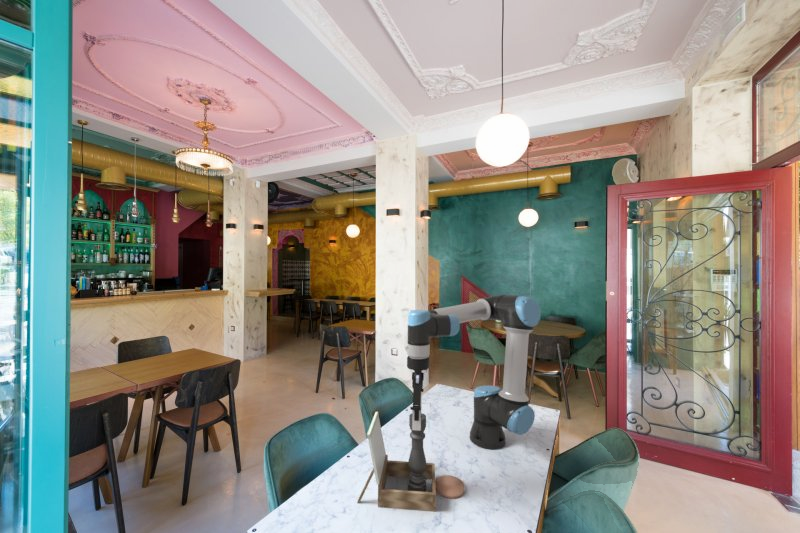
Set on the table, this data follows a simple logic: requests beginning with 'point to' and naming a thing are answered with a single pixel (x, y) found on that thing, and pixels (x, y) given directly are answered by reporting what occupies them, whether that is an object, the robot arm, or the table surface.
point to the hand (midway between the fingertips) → (417, 419)
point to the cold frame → (403, 497)
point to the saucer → (449, 486)
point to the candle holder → (417, 458)
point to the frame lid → (376, 446)
